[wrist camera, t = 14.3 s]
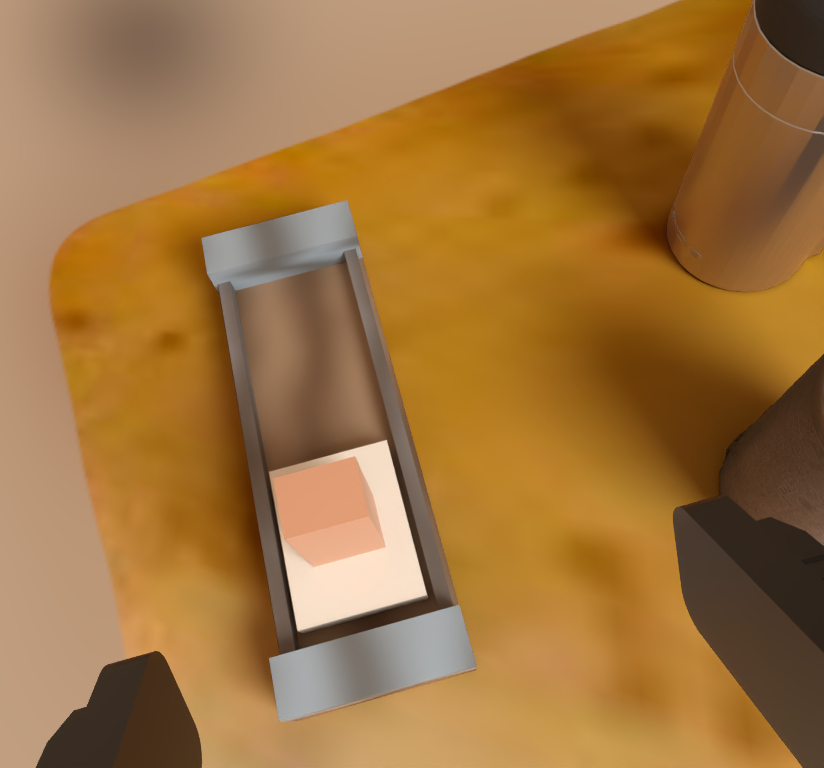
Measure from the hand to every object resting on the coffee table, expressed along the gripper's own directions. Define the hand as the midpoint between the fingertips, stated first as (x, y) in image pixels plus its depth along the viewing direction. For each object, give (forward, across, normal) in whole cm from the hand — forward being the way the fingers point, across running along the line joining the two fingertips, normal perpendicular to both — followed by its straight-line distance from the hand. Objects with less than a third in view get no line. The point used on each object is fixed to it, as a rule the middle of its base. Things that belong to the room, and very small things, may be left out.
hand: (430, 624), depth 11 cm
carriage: (+27, +4, +14) cm, 31 cm away
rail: (+33, +4, +11) cm, 35 cm away
